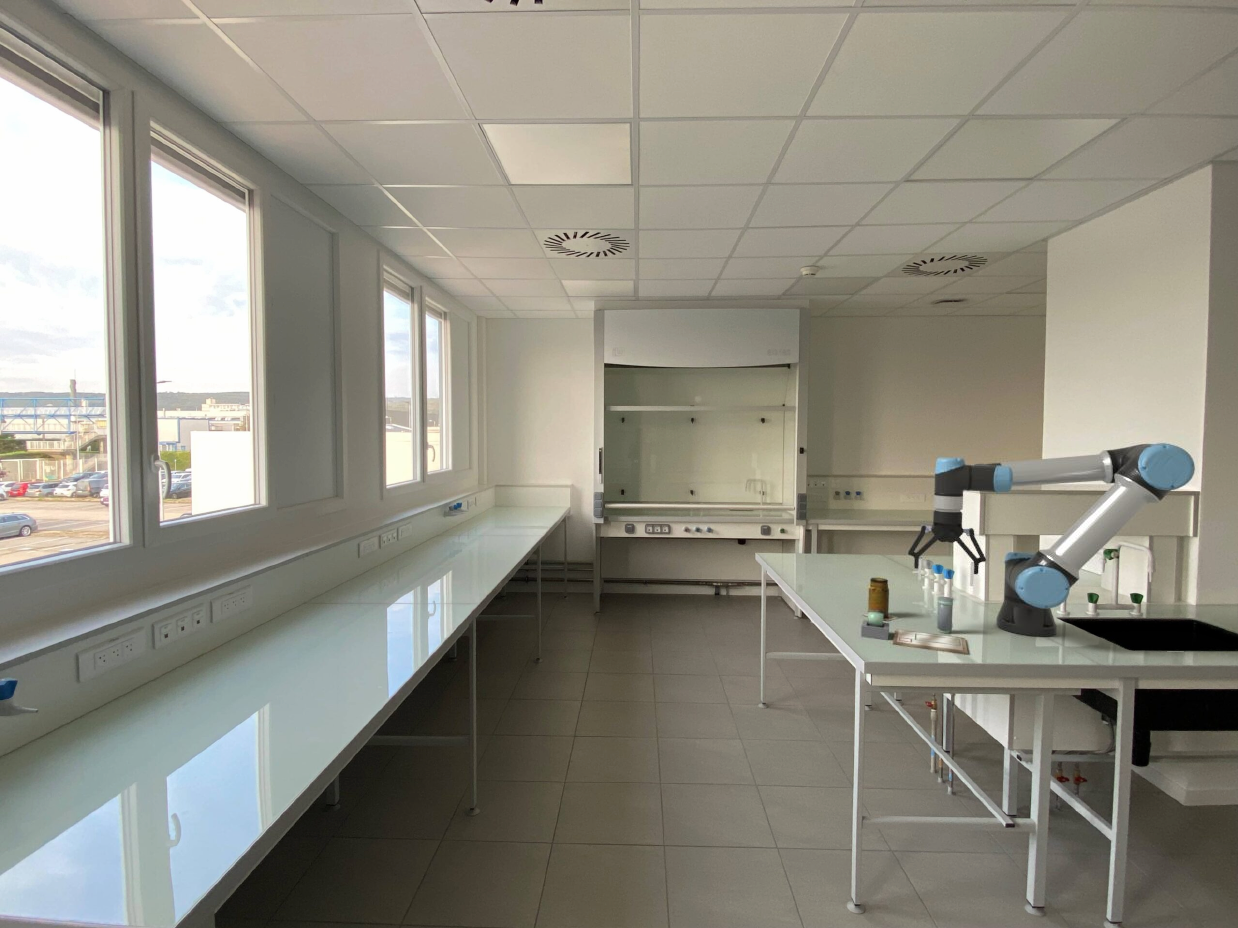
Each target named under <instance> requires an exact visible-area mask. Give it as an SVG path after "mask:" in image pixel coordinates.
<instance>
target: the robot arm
mask: <svg viewBox="0 0 1238 928" xmlns="http://www.w3.org/2000/svg"><path fill="white" fill-rule="evenodd" d="M965 461H966V460H965V459H964V458H963V457H938V458H937V459H936V461H935V470H934V491H933V492H934V493H933V494H934V496H933V508H934V509H935V510H934V511H933V515H932V517H933V518H932V520H933V521H932V526H930V525H926V524H922V525H921V528H920V532H919V534H918V535H917V537H916V539H915V540H914V542H913V543H912V545H911V547H910V548H909V550H908V552H907V554H908V555H909V556H911V557H913V558H914V560H913V562H914V563H913V564H914V566H913V567H914V569H918V570H917V581H922V561H923V559H922V558H923V557H921V556H922V555H923V554H924V553H925V552H926V551H927V550H928V549H929V548H931V547H932V545H934V544H935V543H936V542H937V541H939V542H940V543H945V542H946V543H951V544H952V543H955V542H956V543H957V544H958V545H959V546H960V548H961V549H962V550H963V551H964V552H965V553H966V555H967V556H968V557H969V558H970V559H971V562H970V567H969V568H970V569H969V586H970V587H974V581H975V579H974V578H975V575H978V574H979V566H980V563H985V562H987V558H986V556H985V554H984V553H983V550H982V548H981V546H980V544H979V543H978V540H977V539H976V535H975V529H974V528H972V527H970V528H963V512H962V511H963V507H964V492H965V491H967V492H970V491H971V492H982V493H983V492H985V493H986V492H988V493H989V492H990V493H997V494H998V493H1009V492H1010V491H1011V490H1012V488H1013V487H1014V488H1015V487H1028V486H1030V487H1031V486H1041V485H1045V486H1046V485H1057V484H1058V485H1059V484H1071V483H1072V484H1073V483H1088V482H1103V483H1105V484H1106V485H1109V484H1110V485H1111V484H1113V485H1112V486H1110V488H1109V489H1108V490H1107V491H1105V493H1104V494H1103V495H1101V496H1100V498H1098V499H1097V500H1096V502H1095V503H1094V504H1092V506H1090V508H1089V509H1088V510H1086V511H1085V513H1084V514H1083V515H1081V517H1079V518H1078V519H1077V520H1076V521H1075V522H1074V523H1073V524H1072V525H1071V527H1069V529H1067V530H1066V531H1065V532H1064V534H1062V536H1060V537H1059V538H1058V540H1057V541H1055V542H1054V544H1052V545H1051V546H1050V548H1047V549H1039V550H1038V551H1036V552H1035V553H1034V552H1033V553H1029V552H1027V553H1026V552H1016V551H1015V552H1014V551H1013V552H1011V551H1009V552H1007V553H1006V554H1005V559H1004V561H1003V562H1004V582H1003V583H1004V586H1003V587H1004V589H1003V591H1004V592H1003V602H1002V604H1001V607H1000V608H999V611H998V613H997V616H996V620H995V621H996V623H995V624H996V627H998V628H999V629H1001V630H1004V631H1007V632H1010V633H1014V634H1019V635H1025V636H1030V637H1031V636H1032V637H1033V636H1034V637H1051V636H1055V635H1057V623H1056V621H1055V618H1054V615H1053V612H1052V609H1053V608H1056V607H1058V606H1060V605H1063V604H1064V603H1065V601H1066V600H1067V599H1068V597H1069V595H1070V590H1071V588H1072V587H1073V586H1074V585H1075V584H1076V583H1077V581H1079V580H1080V573H1079V571H1080V570H1081V569H1082V568H1083V567H1084V566H1085V565H1086V564H1087V563H1088V562H1089V561H1090V560H1091V559H1092V558H1093V557H1094V556H1095V555H1097V553H1098V552H1099V551H1101V550H1102V549H1103V547H1104V546H1106V544H1108V543H1109V542H1110V541H1111V540H1112V539H1113V538H1114V537H1115V536H1116V535H1117V534H1118V533H1119V532H1120V531H1121V530H1122V529H1123V528H1125V526H1126V525H1127V524H1128V523H1130V521H1132V519H1134V518H1135V516H1137V515H1138V514H1139V513H1140V512H1141V511H1142V509H1144V508H1145V507H1146V506H1147V505H1149V504H1158V503H1159V502H1161V501H1162V500H1163V499H1164V498H1165V497H1166V496H1167V495H1168V494H1169V493H1171V491H1175V490H1178V489H1180V488H1182V487H1184V486H1186V485H1187V484H1189V482H1191V480H1192V479H1193V477H1194V475H1195V471H1196V466H1195V462H1194V458H1193V457H1192V456H1191V454H1190V453H1189V452H1188V451H1187V450H1185V449H1184V448H1182V447H1180V446H1177V445H1174V444H1171V443H1166V442H1165V443H1163V442H1161V443H1160V442H1159V443H1142V444H1141V443H1140V444H1136V445H1132V446H1128V447H1120V448H1114V449H1108V450H1107V449H1105V450H1101V452H1099V453H1098V454H1088V455H1087V454H1086V455H1075V456H1074V455H1073V456H1066V457H1065V456H1064V457H1062V456H1061V457H1054V458H1053V457H1052V458H1051V457H1050V458H1041V459H1040V458H1039V459H1028V460H1018V461H1005V462H1004V461H1003V462H1002V461H1001V462H994V463H993V462H992V463H976V464H973V465H972V464H966V462H965ZM929 531H931V533H933V536H932V537H931V538H930V539H929V540H928V541H927V542H926V543H925V544H924V545H922V546H921V548H920V549H919V550H918V551H916V549H917V547H918V546H919V544H920V542H921V541H922V539H923V538H924V536H925V535H926V534H928V533H929ZM963 534H965V535H966V536H967V537H969V539H970V540H971V542H972V544H973V547H974V548H975V550H976V553H977V555H978V556H979V557H977V556H976V555H975V554H974V553H973V551H971V549H970V548H969V547H968V546H967V544H966V543H965V542H964V540H962V539H961V536H962V535H963ZM915 551H916V552H915Z"/></svg>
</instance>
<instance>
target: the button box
mask: <svg viewBox="0 0 1238 928" xmlns="http://www.w3.org/2000/svg"><path fill="white" fill-rule="evenodd" d="M860 626H861V628H860V629H861V630H860V631H861V633H860V637H862V638H863V637H865V638H870V639H877V640H885V641H888V640H889V637H890V622H884V621H883V625H882V626H874V625H870V624H868V619H867V620H865V619H863V621H862V624H861V625H860Z"/></svg>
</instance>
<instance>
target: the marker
mask: <svg viewBox="0 0 1238 928" xmlns="http://www.w3.org/2000/svg"><path fill="white" fill-rule="evenodd" d="M953 604H954V598H952V597H949V596H939V597H937V622H936V623H937V625H936V626H937V627H936V628H937V629H938V631H939V633H940V634H941V633H942V634H950V633H951V631H952V630H953Z"/></svg>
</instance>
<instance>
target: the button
mask: <svg viewBox="0 0 1238 928" xmlns="http://www.w3.org/2000/svg"><path fill="white" fill-rule="evenodd" d="M867 614H868V616H867V620H868V624H870V625H874V626H882V625H883V622H884V620H883V613H880V612H869V613H867Z"/></svg>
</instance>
